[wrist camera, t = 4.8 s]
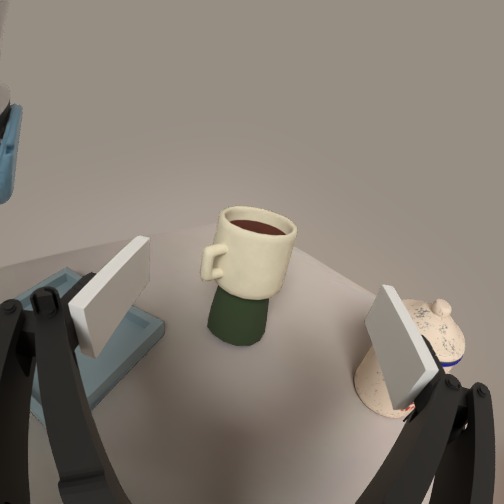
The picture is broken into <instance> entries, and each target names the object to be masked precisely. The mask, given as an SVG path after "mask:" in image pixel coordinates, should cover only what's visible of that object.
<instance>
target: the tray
mask: <svg viewBox="0 0 504 504" xmlns="http://www.w3.org/2000/svg"><path fill="white" fill-rule="evenodd" d="M81 278H82V276H80V275H79V274H77V273H75V272H74V271H72V270H71V269H69V268H68V267H66V268H65V269H63V270H61V271H59V272H58V273H56V274H54V275H52V276H51V277H49V278H47V279H45V280H44V281H42V282H40V283H39V284H37V285H35V286H34V287H32V288H31V289H29V290H27V291H26V292H24V293H22V294H21V295H19V296H18V297H16V298H14V299H17V300H19V301H20V302H21V304H22V306H23V309H24V310H30V311H33V308H32V305H31V302H30V295H31V294H32V293H33V291H35V290H36V289H38V288H41V287H44V286H50V287H54V288H55V289H57V290H58V293H59V296H60V298H61V297H62V296H63V295H64V294H65V293H66V292H67V291H68V290H69V289H70V288H72V286H73V285H74V284H76V283H77V282H78V281H79V280H80V279H81ZM163 335H164V321H162V320H160V319H158V318H156V317H154V316H152V315H150V314H148V313H146V312H144V311H142V310H140V309H138V308H136V307H134V306H133V305H132V306H131V307H130V309H129V310H128V312H127V313H126V315H125V316H124V317H123V319H122V320H121V322H120V323H119V325H118V326H117V328H116V329H115V331H114V332H113V334H112V335H111V337H110V338H109V340H108V341H107V343H106V344H105V346H104V347H103V349H102V350H101V352H100V354H99V355H98V357H97V358H96V359H94V358H91V357H89V356H87V355H84V354H82V353H81V350H80V347H79V345H78V346H77V347H76V349H75V353H76V357H77V362H78V366H79V371H80V375H81V379H82V382H83V386H84V390H85V393H86V397H87V400H88V404H89V407H90V410H92V409H93V408H94V407H95V406H96V405H97V404H98V403H99V402H100V401H101V400H102V399H103V398H104V397H105V396H106V395H107V394H108V393H109V392H110V390H111V389H112V388H113V387H114V386H115V385H116V384H117V383H118V382H119V381H120V380H121V379H122V378H123V377H124V376H125V375H126V374H127V373H128V372H129V371H130V370H131V368H132V367H133V366H134V365H135V364H136V363H137V362H138V361H139V360H140V359H141V358H142V357H143V356H144V355H145V354H146V353H147V352H148V351H149V350H150V349H151V348H152V347H153V345H154V344H155V343H156V342H157V341H158V340H159V339H160V338H161V337H162V336H163ZM30 412H31V413H32V414H33V415H34V416H35V417H36V418H37V419H38V420H39V421H40V422H41V423H42V424H43V425H44V426H45V427H46V424H45V419H44V414H43V409H42V403H41V397H40V390H39V382H38V373H37V363H36V367H35V373H34V380H33V387H32V394H31V403H30Z"/></svg>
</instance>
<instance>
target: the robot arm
mask: <svg viewBox="0 0 504 504" xmlns="http://www.w3.org/2000/svg"><path fill="white" fill-rule="evenodd" d="M9 3H10V0H0V53H1V45H2V38H3V32H4V26H5V21H6V16H7V11H8V7H9ZM21 121H22V106H21V105H16V104H13V105H11V106H10V90H9V88H8V86H7V85H6V84H4V83H2V82H1V81H0V204H3V203H5V202H6V201H8V200H9V198H10V197H11V195H12V193H13V189H14V181H15V171H16V161H17V152H18V143H19V136H20V127H21ZM149 281H150V238H148V237H143V236H137V237H135V238H134V239H133V240H132V241H131V242H130V243H129V244H128V245H127V246H126V247H125V248H123V249H122V250H121V251H120V252H119V253H118V254H117V255H116V256H115V257H114V258H113V259H112V260H111V261H110V262H109V263H108V264H107V265H106V266H104V267H103V268H102V269H101V270H100V271H99V272H98V273H97V274H96V273H92V272H91V273H89V274H87V275H85V276H83V277H82V278H81V279H80V280H79V281H78V282H77V283H76V284H74V285H73V286H72V288H70V289H69V290H68V291H67V292H66V293H65V294H64V295H63V296H62V297H61V298H60V296H59V293H58V290H57V289H55V288H54V287H50V286H44V287H41V288H38V289H36V290H35V291H33V293H32V294H31V295H30V302H31V305H32V308H33V311H30V310H24V309H23V306H22V304H21V302H20V301H19V300H17V299H9V300H6V301H4V302H3V303H2V304H1V305H0V504H30V492H29V478H28V428H29V414H30V403H31V394H32V387H33V380H34V373H35V367H36V363H37V373H38V382H39V390H40V397H41V403H42V409H43V414H44V419H45V424H46V429H47V433H48V437H49V441H50V445H51V449H52V453H53V456H54V460H55V463H56V466H57V470H58V473H59V476H60V481H59V483H58V489H59V492H60V496H61V498H62V501H63V503H64V504H131V502H130V500H129V499H128V497H127V496H126V494H125V493H124V491H123V489H122V487H121V485H120V483H119V481H118V479H117V477H116V475H115V472H114V470H113V468H112V466H111V463H110V461H109V459H108V456H107V454H106V452H105V449H104V447H103V444H102V442H101V439H100V436H99V434H98V431H97V428H96V425H95V422H94V419H93V416H92V413H91V410H90V407H89V404H88V400H87V397H86V393H85V390H84V386H83V382H82V379H81V375H80V371H79V366H78V362H77V357H76V353H75V349H76V347H77V346H78V345H79V347H80V350H81V353H82V354H84V355H87V356H89V357H91V358H94V359H96V358H97V357H98V355H99V354H100V352H101V350H102V349H103V347H104V346H105V344H106V343H107V341H108V340H109V338H110V337H111V335H112V334H113V332H114V331H115V329H116V328H117V326H118V325H119V323H120V322H121V320H122V319H123V317H124V316H125V315H126V313H127V312H128V310H129V309H130V307H131V306H132V304H133V303H134V302H135V300H136V299H137V297H138V296H139V295H140V293H141V292H142V290H143V289H144V288H145V286H146V285H147V283H148V282H149ZM365 325H366V328H367V330H368V333H369V336H370V339H371V342H372V344H373V347H374V350H375V353H376V356H377V359H378V362H379V365H380V368H381V371H382V374H383V377H384V381H385V384H386V387H387V390H388V394H389V397H390V400H391V404H392V407H393V410H404V409H407V408H408V407H409V406H410V405H411V403H412V402H414V405H415V408H414V409H413V410H412V411H411V412H410V413H409V415H408V416H407V417H406V418H405V419H404V420H403V422H405V421H406V420H407V421H406V423H405V425H404V427H403V429H402V431H401V433H400V435H399V437H398V438H397V440H396V442H395V444H394V446H393V447H392V449H391V451H390V452H389V454H388V456H387V457H386V459H385V461H384V462H383V464H382V465H381V467H380V469H379V470H378V472H377V473H376V475H375V476H374V478H373V479H372V481H371V482H370V484H369V485H368V486H367V488H366V489H365V491H364V492H363V493H362V495H361V496H360V497H359V499H358V500H357V501H356V503H355V504H421V503H422V501H423V499H424V497H425V495H426V493H427V491H428V489H429V487H430V485H431V482H432V480H433V478H434V476H435V478H434V483H433V488H432V493H431V497H430V501H429V504H492V503H493V494H494V480H495V434H494V419H493V409H492V401H491V395H490V391H489V390H488V388H487V387H486V386H485V385H484V384H482V383H479V382H477V383H475V384H474V385H473V386H472V387H471V388H470V389H467V388H464V387H462V386H461V384H460V382H459V380H458V379H457V378H456V377H454V376H453V375H451V374H446V373H445V371H444V369H443V367H442V365H441V363H440V361H439V359H438V357H437V356H436V353H435V351H434V350H433V347H432V346H431V344H430V342H429V341H428V340H427V339H426V337H425V336H424V335H421V334H420V332H419V331H418V329H417V327H416V325H415V323H414V322H413V320H412V318H411V316H410V314H409V313H408V311H407V309H406V308H405V306H404V304H403V302H402V301H401V299H400V298H399V296H398V294H397V292H396V291H395V289H394V287H393V286H388V285H383V284H382V285H381V288H380V290H379V292H378V294H377V297H376V299H375V301H374V303H373V305H372V307H371V309H370V312H369V314H368V316H367V318H366V320H365ZM467 423H468V425H467V428H466V429H465V425H466V424H467Z"/></svg>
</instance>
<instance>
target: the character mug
mask: <svg viewBox="0 0 504 504" xmlns="http://www.w3.org/2000/svg"><path fill="white" fill-rule="evenodd" d="M297 231H298V228H297V226H296V225H295V223H294V222H292V221H291V220H289V219H288V218H286V217H285V216H282V215H280V214H277V213H275V212H272V211H268V210H265V209H261V208H255V207H249V206H232V207H228V208H225V209H223V210H222V211H221V212H220V215H219V218H218V225H217V230H216V234H215V237H214V242H213V245H209V246H207V247H205V248H204V251H203V254H202V262H201V270H200V274H201V279H202V281H212V280H215V281H216V282H217V284H218V287H217V290H216V293H215V296H214V299H213V302H212V306H211V310H210V314H209V318H208V328H209V329H210V331H211V332H212V333H213V334H214V335H215V336H217V337H218V338H220V339H221V340H223V341H225V342H228V343H231V344H234V345H252V344H254V343H256V342H258V341H260V339H261V337H262V335H263V334H264V332H265V326H266V320H267V312H268V303H269V298H272V297H273V296H274V295H276V294H277V293H278V292H279V291H280V289H281V287H282V284H283V281H284V277H285V274H286V271H287V267H288V264H289V260H290V257H291V253H292V250H293V246H294V243H295V239H296V236H297Z"/></svg>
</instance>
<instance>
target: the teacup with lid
mask: <svg viewBox="0 0 504 504" xmlns="http://www.w3.org/2000/svg"><path fill="white" fill-rule="evenodd" d="M401 301H402V302H403V304H404V306H405V308H406V309H407V311H408V313H409V314H410V316H411V318H412V320H413V322H414V323H415V325H416V327H417V329H418V331H419V332H420V334H421V335H424V336H425V337H426V339H427V340H428V341H429V342H430V344H431V346H432V347H433V350H434V351H435V353H436V356H437V357H438V359H439V361H440V363H441V365H442V367H443V369H444V371H445V373H446V374H447V373H448V372H449V371H450V369H451V368H452V367H453V365H455V364H457V363H458V362H459V361H460V360H461V359H462V357H463V353H464V351H465V340H464V336H463V334H462V332H461V330H460V329H459V327H458V325H457V324H456V323H455V322H454V321H453V319H452V318H451V316H450V313H451V306H450V305H449V304H448V303H447V302H446V301H444V300H442V299H437V300H435V301H434V303H433V304H432V303H426V302H423V301H420V300H415V299H405V300H401ZM354 382H355V388H356V391H357V393H358V395H359V397H360V398H361V400H362V401H363V402H364V404H365V405H366V406H367V407H369V408H370V409H371V410H373V411H374V412H376V413H378V414H380V415H382V416H385V417H390V418H400V417H404V416H407V415H409V413H410V412H411V411H412V410H413V409H414V408H415V405H414V402H412V403H411V405H410V406H409V407H408V408H407V409H404V410H393V407H392V404H391V400H390V397H389V394H388V390H387V387H386V384H385V381H384V377H383V374H382V371H381V368H380V365H379V362H378V359H377V356H376V353H375V350H374V347H373V344H372V346H371V347H370V349H369V351H368V352H367V354H366V356H365V357H364V359H363V360H362V362H361V363H360V365H359V367H358V368H357V370H356V373H355V378H354Z"/></svg>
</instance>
